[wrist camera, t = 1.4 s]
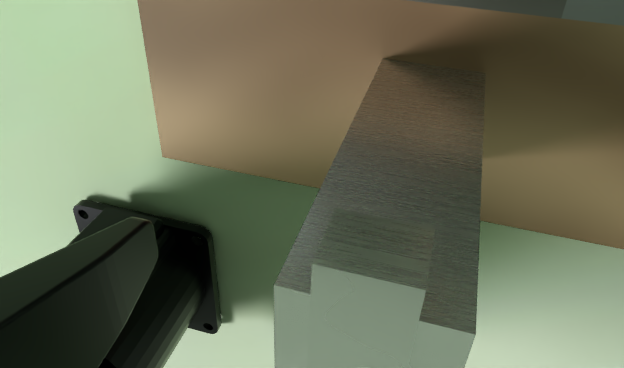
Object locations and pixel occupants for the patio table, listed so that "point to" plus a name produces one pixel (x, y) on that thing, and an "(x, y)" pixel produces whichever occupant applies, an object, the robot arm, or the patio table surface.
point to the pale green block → (392, 232)
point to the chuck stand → (411, 48)
